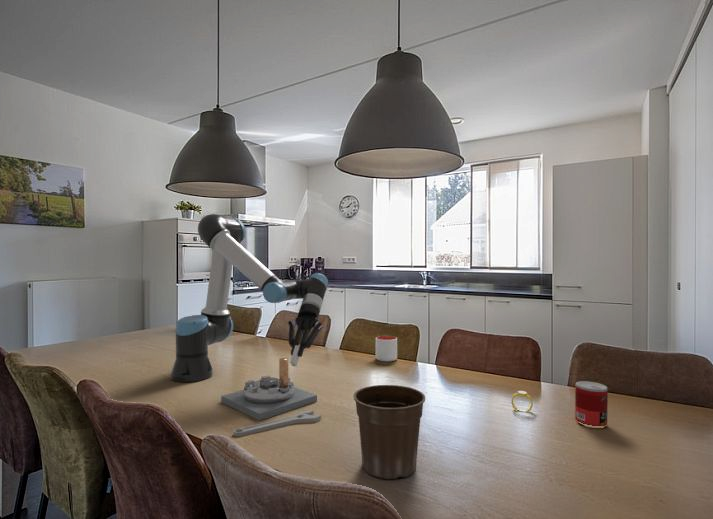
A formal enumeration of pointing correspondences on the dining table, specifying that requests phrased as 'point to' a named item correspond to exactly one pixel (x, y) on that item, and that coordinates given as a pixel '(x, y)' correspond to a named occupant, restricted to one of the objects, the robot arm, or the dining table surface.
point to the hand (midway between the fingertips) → (293, 364)
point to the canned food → (591, 403)
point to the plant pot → (389, 429)
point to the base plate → (268, 410)
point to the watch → (522, 395)
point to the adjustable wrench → (280, 423)
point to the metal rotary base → (270, 387)
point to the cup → (386, 348)
